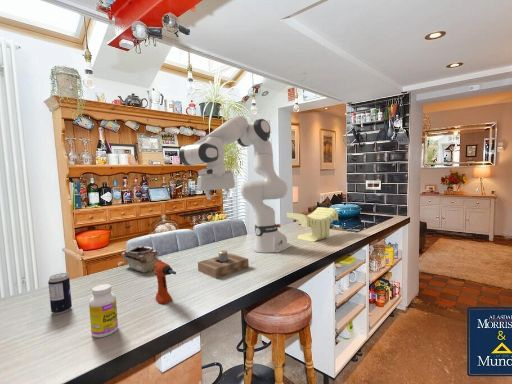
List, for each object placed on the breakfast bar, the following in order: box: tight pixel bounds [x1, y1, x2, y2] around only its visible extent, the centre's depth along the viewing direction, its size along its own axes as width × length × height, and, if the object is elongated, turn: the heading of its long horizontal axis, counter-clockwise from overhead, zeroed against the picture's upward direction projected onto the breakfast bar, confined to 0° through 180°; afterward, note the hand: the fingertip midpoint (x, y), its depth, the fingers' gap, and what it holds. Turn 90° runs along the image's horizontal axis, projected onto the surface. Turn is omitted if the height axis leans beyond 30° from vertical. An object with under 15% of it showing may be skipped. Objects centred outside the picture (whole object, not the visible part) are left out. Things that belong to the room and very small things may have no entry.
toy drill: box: [153, 259, 177, 305], centre depth 94 cm, size 5×18×14 cm, turn 38°
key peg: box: [218, 250, 229, 263], centre depth 126 cm, size 4×4×8 cm
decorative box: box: [121, 245, 160, 274], centre depth 132 cm, size 13×20×10 cm, turn 47°
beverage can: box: [47, 272, 73, 315], centre depth 92 cm, size 6×6×12 cm
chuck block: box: [197, 252, 250, 279], centre depth 127 cm, size 18×14×4 cm
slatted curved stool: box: [286, 206, 339, 242], centre depth 176 cm, size 30×16×18 cm, turn 129°
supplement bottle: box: [88, 283, 119, 338], centre depth 78 cm, size 7×7×13 cm
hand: (217, 198), depth 138 cm, fingers open, 8 cm apart
